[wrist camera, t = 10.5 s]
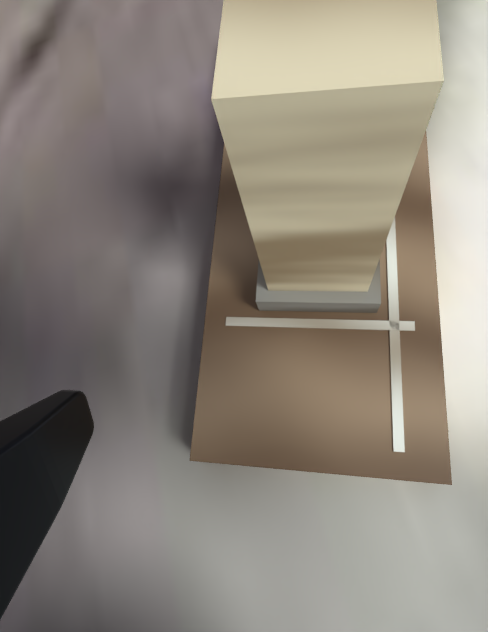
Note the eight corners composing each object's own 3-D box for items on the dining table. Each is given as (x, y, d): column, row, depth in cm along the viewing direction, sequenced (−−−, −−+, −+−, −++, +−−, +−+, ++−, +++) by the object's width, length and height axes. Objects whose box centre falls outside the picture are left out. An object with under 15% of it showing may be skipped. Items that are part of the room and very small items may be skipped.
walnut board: (439, 481, 16) (452, 485, 14) (199, 459, 18) (189, 460, 16) (410, 34, 23) (417, 7, 21) (240, 52, 25) (236, 27, 23)
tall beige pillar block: (376, 312, 17) (479, 101, 6) (259, 310, 18) (182, 122, 7) (374, 209, 18) (454, -99, 8) (265, 212, 19) (209, -61, 9)
